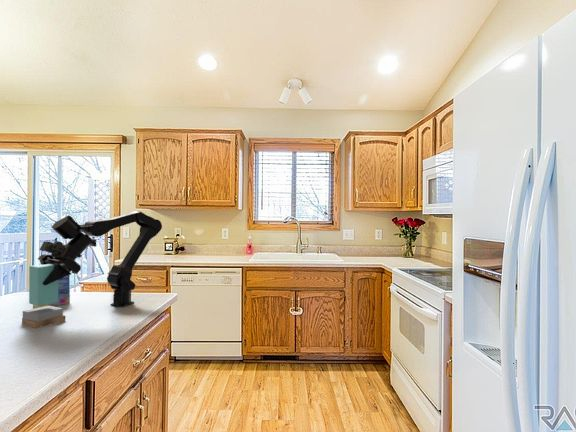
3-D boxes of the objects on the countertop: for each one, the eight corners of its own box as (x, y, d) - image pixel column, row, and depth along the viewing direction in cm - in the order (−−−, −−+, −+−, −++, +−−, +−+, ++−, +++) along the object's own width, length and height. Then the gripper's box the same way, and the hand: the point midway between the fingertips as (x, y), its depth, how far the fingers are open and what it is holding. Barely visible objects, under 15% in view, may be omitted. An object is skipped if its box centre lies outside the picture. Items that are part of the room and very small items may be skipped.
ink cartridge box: (45, 301, 139) (45, 267, 139) (60, 299, 143) (61, 265, 143) (54, 305, 133) (55, 269, 133) (70, 303, 138) (70, 268, 138)
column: (49, 299, 117) (49, 263, 117) (58, 301, 114) (58, 265, 114) (29, 303, 112) (29, 266, 112) (37, 305, 109) (37, 267, 109)
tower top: (48, 312, 118) (48, 305, 118) (62, 315, 115) (63, 308, 115) (22, 318, 110) (22, 310, 110) (37, 321, 107) (37, 314, 107)
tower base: (52, 318, 119) (52, 311, 119) (65, 323, 114) (65, 315, 114) (21, 325, 111) (22, 317, 111) (34, 330, 107) (35, 322, 107)
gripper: (44, 231, 121) (6, 266, 111) (71, 233, 111) (32, 271, 102) (67, 251, 128) (33, 285, 118) (95, 255, 118) (60, 292, 109)
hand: (39, 283), depth 112 cm, fingers closed on column, 6 cm apart
